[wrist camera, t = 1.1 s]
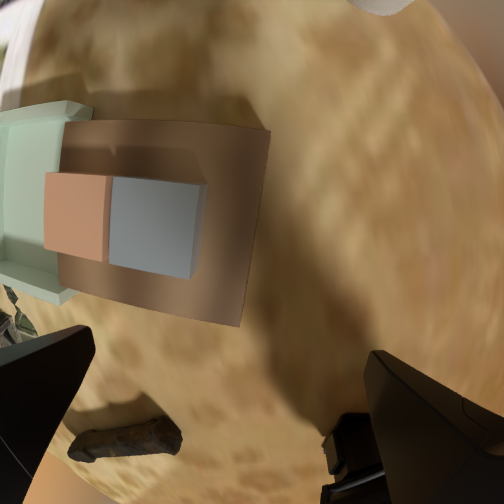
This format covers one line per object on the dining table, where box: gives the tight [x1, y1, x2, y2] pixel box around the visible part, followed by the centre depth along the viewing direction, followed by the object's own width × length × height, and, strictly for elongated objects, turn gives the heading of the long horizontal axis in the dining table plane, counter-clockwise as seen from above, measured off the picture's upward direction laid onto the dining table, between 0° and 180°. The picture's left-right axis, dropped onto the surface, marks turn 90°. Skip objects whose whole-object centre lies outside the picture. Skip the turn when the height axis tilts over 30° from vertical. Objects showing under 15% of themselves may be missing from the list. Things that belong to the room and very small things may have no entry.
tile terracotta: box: [44, 171, 123, 262], centre depth 16 cm, size 5×5×2 cm
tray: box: [0, 100, 94, 306], centre depth 18 cm, size 12×15×4 cm
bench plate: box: [57, 120, 271, 327], centre depth 18 cm, size 14×12×3 cm
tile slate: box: [109, 176, 208, 280], centre depth 16 cm, size 5×5×2 cm
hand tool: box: [67, 416, 183, 463], centre depth 25 cm, size 19×4×5 cm, turn 116°
